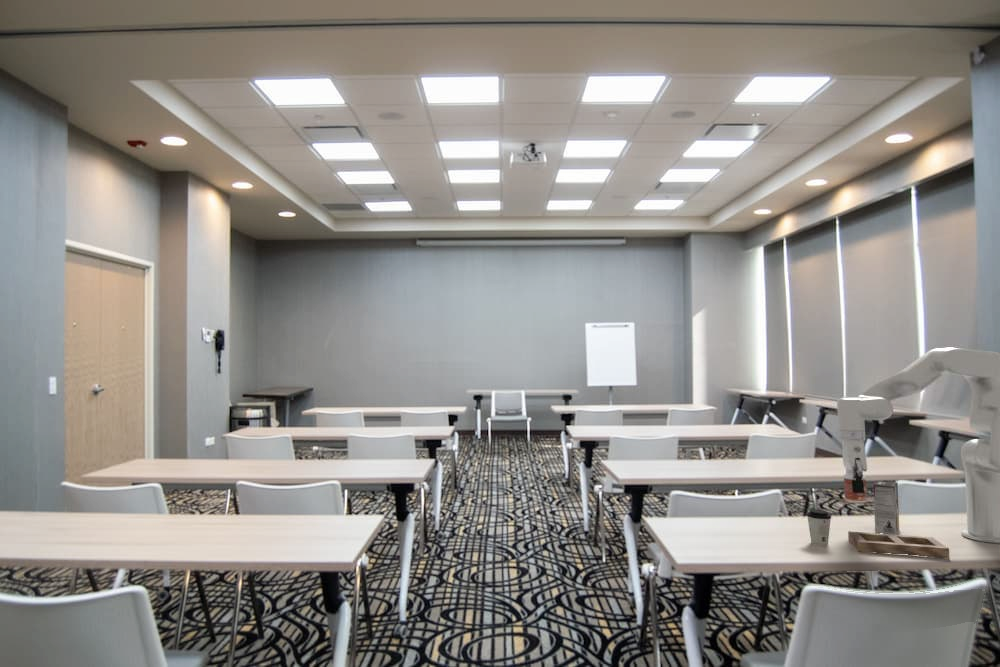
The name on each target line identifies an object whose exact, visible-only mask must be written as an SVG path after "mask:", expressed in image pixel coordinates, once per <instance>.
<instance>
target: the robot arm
mask: <svg viewBox="0 0 1000 667" xmlns="http://www.w3.org/2000/svg"><path fill="white" fill-rule="evenodd" d="M944 375H959V376H962V377H963V378H964V379H965V380H966V382H968V384H969V386H970V389H971V402H970V413H969V420H968V421H969V427H970V430H972V431H973V432H974V433H976V434H978V435H983V436H985V437H990V438H989V439H990V440H989V439H982V438H974V439H970V440H968V441H965V443H963V445H962V446H961V448H960V449H961V450H960V459H961V462H962V467H963V470H964V478H965V481H964V482H965V500H966V501H965V502H966V503H965V504H966V505H965V506H966V523H967V524H966V525H967V529H963V530H961V535H962V536H963V537H965V538H968V539H970V540H975V541H979V542H985V543H990V544H1000V353H999V352H996V351H991V350H990V351H989V350H979V349H967V348H959V347H942V348H941V347H940V348H938V347H937V348H933V349H931V350H928V351H927V352H925V353H924V354H922V355H921V356H920V357H919V358H917V359H916V360H914V361H913V362H912V363H910V364H909V365H908V366H906V367H905V368H903V369H902V370H901V371H898V373H894V375H893V374H892V375H891V376H889V377H887V378H885V379H882V380H881V381H879V382H877V383H875V384H873V385H872V386H870V387H868V388H867V389H866V390H865V391H863V392H862V393H861V394H859V395H858V396H857V397H841V398H839V399H837V401H836V406H837V408H836V409H837V421H838V422H837V423H838V439H839V440H840V441H842V443H841V444H842V463H843V466H844V468H846V467H847V468H848V469H849V470H850V471H852V476H853V480H852V491H853V492H854V493H864V482H863V475H864V474H863V473H865V472H867V471H868V464H867V463H868V462H867V455H866V446H865V443H864V441H866V429H865V428H866V426H865V423H866V422H865V420H872V421H883V420H884V421H885V420H887V419H889V418H890V417H891V416H892V415H893V413H894V405H893V403H891V402H893V401H895V400H898V399H901V398H902V399H903V398H906V397H910V396H914V395H916V394H919V393H921V392H922V391H924V390H926V388H928V387H929V386H931V385H932V384H934V383H935V382H936V381H937V380H939V379H941V377H943V376H944ZM854 469H857V470H854ZM846 473H847V471H846V470H845V474H846ZM855 473H856V475H855Z"/></svg>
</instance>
